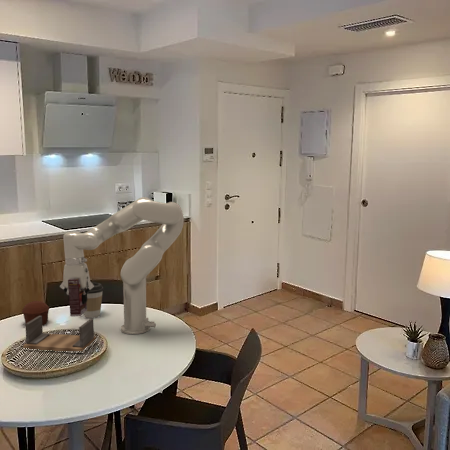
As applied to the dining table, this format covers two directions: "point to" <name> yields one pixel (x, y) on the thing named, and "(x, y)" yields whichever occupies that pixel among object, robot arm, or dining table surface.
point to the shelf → (58, 337)
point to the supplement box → (76, 298)
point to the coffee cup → (94, 301)
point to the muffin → (36, 311)
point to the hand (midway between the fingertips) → (78, 302)
